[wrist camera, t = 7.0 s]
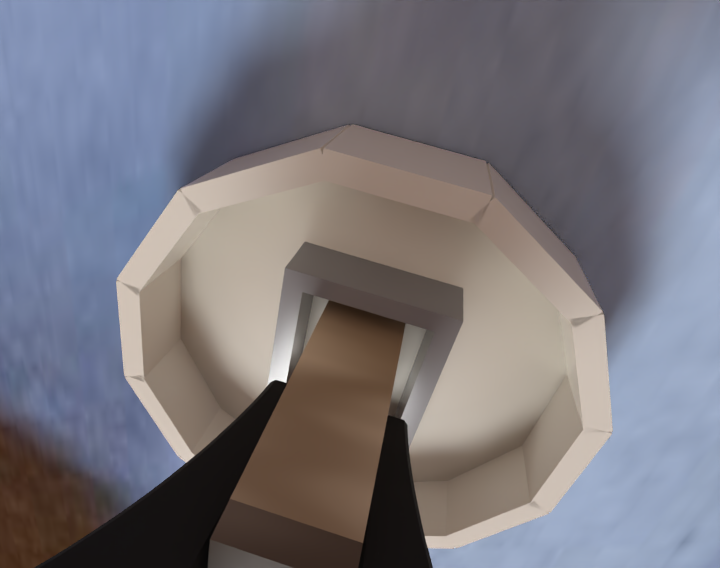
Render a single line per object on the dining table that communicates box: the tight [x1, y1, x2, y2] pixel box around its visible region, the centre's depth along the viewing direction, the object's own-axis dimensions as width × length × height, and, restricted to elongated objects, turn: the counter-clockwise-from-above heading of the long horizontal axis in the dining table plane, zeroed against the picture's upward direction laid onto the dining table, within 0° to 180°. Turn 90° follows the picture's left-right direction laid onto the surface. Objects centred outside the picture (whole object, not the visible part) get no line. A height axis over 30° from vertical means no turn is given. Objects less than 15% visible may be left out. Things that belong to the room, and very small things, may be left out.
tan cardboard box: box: [208, 300, 406, 568], centre depth 10 cm, size 2×4×7 cm, turn 168°
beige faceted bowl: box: [116, 124, 613, 549], centre depth 12 cm, size 12×12×2 cm
